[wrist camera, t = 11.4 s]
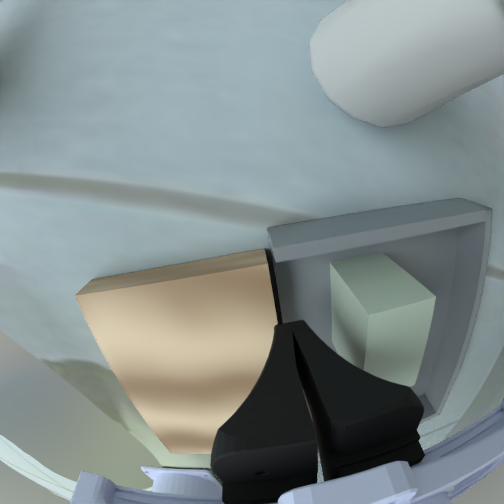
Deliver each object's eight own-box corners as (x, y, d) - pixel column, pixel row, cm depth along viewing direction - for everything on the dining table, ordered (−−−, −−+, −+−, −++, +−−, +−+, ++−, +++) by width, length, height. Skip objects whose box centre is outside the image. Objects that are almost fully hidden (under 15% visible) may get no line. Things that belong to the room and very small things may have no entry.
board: (293, 425, 19) (296, 444, 17) (174, 435, 19) (170, 453, 17) (264, 248, 14) (267, 263, 12) (91, 279, 14) (75, 295, 12)
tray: (426, 391, 19) (439, 414, 16) (297, 430, 19) (302, 459, 16) (459, 197, 13) (492, 208, 10) (267, 227, 13) (273, 248, 10)
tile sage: (331, 340, 15) (378, 329, 15) (358, 403, 10) (414, 384, 10) (329, 262, 13) (382, 252, 13) (368, 315, 9) (435, 296, 9)
